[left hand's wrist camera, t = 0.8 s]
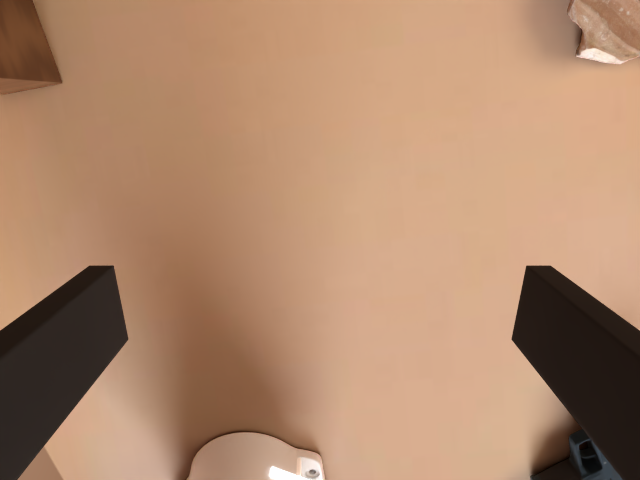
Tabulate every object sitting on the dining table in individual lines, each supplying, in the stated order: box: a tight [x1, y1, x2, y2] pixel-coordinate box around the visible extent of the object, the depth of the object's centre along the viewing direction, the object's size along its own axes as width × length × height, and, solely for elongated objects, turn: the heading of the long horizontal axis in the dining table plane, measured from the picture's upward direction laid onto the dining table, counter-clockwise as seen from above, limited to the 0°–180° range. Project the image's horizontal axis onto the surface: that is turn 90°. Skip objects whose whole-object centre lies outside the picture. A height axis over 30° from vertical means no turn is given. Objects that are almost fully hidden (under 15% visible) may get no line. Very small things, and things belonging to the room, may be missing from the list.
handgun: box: [530, 429, 623, 480], centre depth 45 cm, size 3×17×12 cm
